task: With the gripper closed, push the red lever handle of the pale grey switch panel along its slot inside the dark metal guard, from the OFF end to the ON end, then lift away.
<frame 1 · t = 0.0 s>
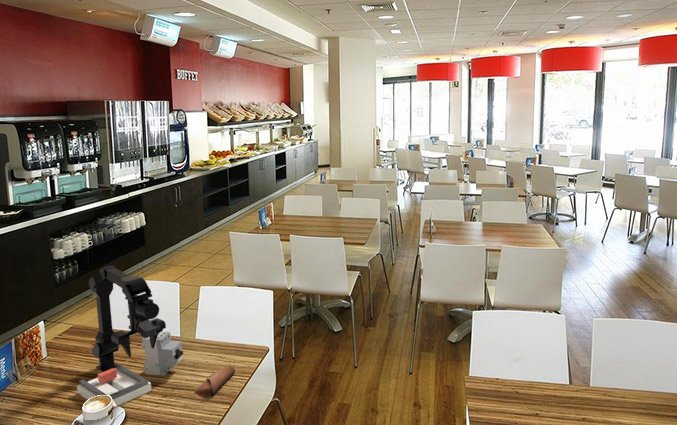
hand: (141, 352, 200), 15 cm above the table, tool pointing down, fingers open, 9 cm apart
lever: (107, 378, 204), point 4 cm above the table, slide at 0.0 cm
sunglasses case: (215, 385, 206), on the table
circuit breaker: (166, 371, 217), on the table
guard: (113, 382, 201), on the switch panel, point 3 cm above the table
switch panel: (114, 391, 202), on the table
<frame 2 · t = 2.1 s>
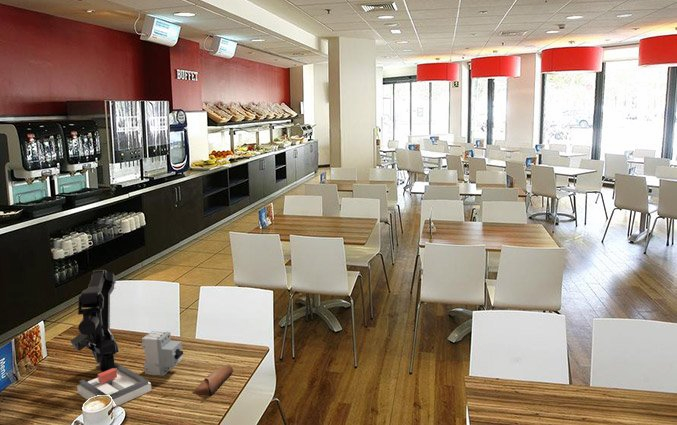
hand: (98, 362, 207), 8 cm above the table, tool pointing down, fingers closed
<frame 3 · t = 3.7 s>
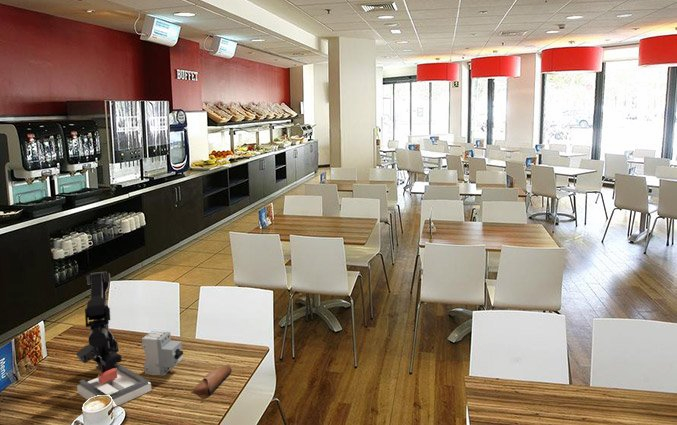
hand: (104, 375, 205), 5 cm above the table, tool pointing down, fingers closed
lever: (108, 379, 204), point 4 cm above the table, slide at 0.2 cm, touching gripper
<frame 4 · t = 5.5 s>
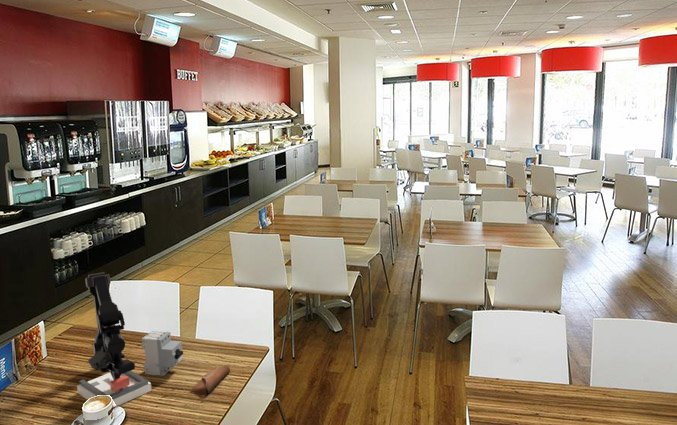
hand: (116, 382, 199), 5 cm above the table, tool pointing down, fingers closed
lever: (120, 386, 198), point 4 cm above the table, slide at 9.1 cm, touching gripper
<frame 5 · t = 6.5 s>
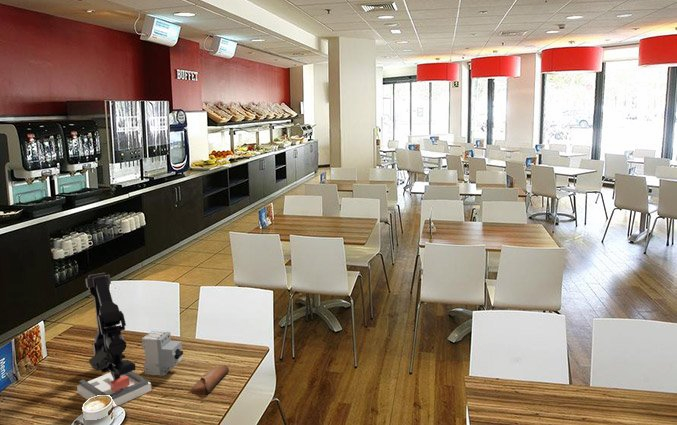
hand: (116, 382, 199), 5 cm above the table, tool pointing down, fingers closed
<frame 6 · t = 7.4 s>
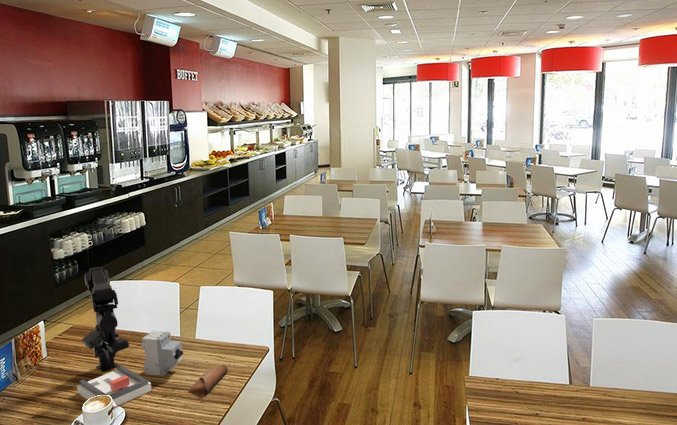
hand: (110, 361, 200), 12 cm above the table, tool pointing down, fingers closed
lever: (120, 386, 198), point 4 cm above the table, slide at 9.0 cm
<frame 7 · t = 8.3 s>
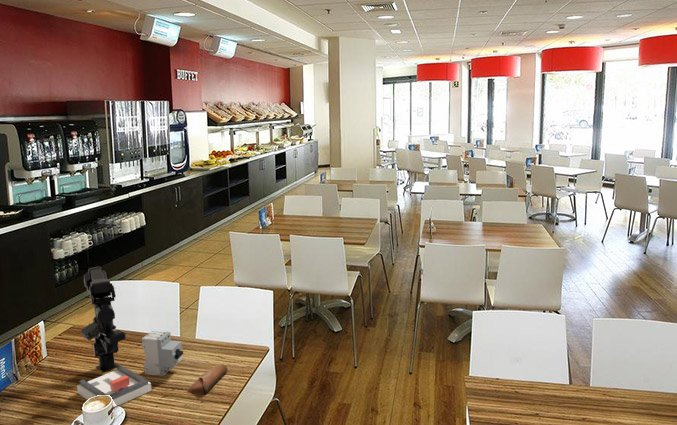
hand: (108, 352, 207), 12 cm above the table, tool pointing down, fingers closed
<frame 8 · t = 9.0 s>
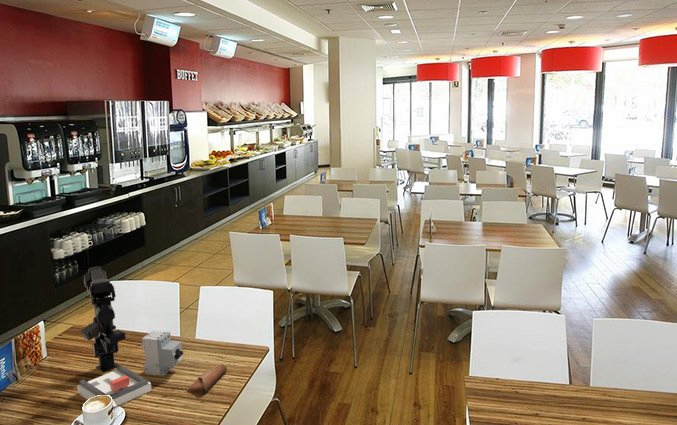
hand: (108, 352, 207), 12 cm above the table, tool pointing down, fingers closed
at the end: lever slide at 9.0 cm; circuit breaker moved 0.2 cm from its start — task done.
